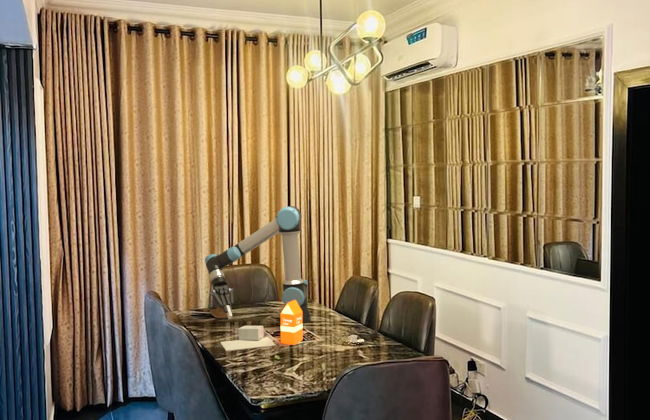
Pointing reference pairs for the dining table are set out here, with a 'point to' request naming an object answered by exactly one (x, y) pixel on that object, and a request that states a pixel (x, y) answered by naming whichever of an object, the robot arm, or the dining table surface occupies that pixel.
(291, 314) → the orange juice
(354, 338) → the teacup and saucer
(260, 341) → the mat
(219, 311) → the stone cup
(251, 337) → the small box
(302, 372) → the dining table surface
